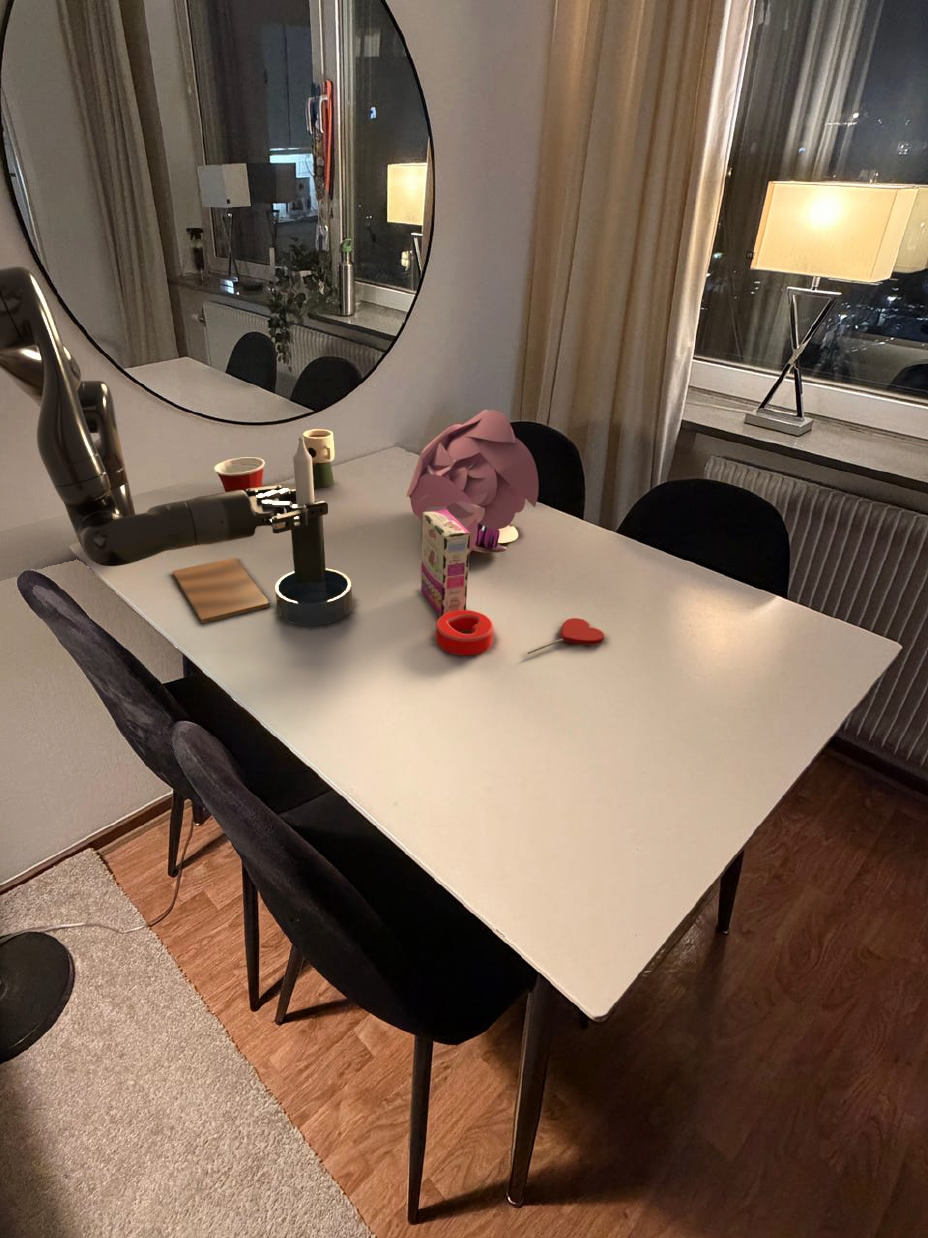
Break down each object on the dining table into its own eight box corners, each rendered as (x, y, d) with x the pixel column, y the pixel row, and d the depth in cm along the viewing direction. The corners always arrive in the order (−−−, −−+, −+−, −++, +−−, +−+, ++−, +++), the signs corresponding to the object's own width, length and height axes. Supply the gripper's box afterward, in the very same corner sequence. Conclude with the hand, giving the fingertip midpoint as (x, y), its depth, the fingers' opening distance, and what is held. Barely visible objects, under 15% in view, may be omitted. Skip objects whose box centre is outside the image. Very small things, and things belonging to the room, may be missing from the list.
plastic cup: (232, 503, 171) (225, 453, 164) (277, 507, 170) (272, 457, 163) (212, 522, 161) (204, 469, 155) (259, 526, 160) (253, 474, 154)
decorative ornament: (432, 626, 129) (432, 611, 127) (485, 622, 130) (486, 607, 129) (441, 657, 121) (441, 641, 119) (498, 652, 122) (499, 637, 121)
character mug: (298, 480, 184) (293, 429, 177) (323, 475, 188) (320, 425, 181) (319, 495, 177) (315, 442, 170) (345, 489, 181) (342, 437, 174)
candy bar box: (467, 616, 132) (471, 532, 123) (441, 621, 130) (444, 536, 122) (444, 587, 141) (446, 507, 132) (419, 591, 139) (420, 511, 130)
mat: (173, 574, 141) (172, 571, 140) (235, 561, 146) (234, 557, 146) (202, 623, 127) (201, 619, 126) (269, 606, 132) (269, 602, 132)
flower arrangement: (551, 568, 160) (594, 442, 147) (477, 582, 143) (518, 442, 130) (444, 503, 179) (474, 387, 166) (368, 509, 162) (395, 381, 150)
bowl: (267, 599, 134) (264, 577, 132) (334, 582, 140) (332, 561, 138) (293, 633, 125) (291, 611, 123) (364, 614, 131) (363, 592, 129)
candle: (297, 568, 131) (286, 431, 118) (326, 568, 132) (318, 431, 119) (294, 582, 127) (282, 441, 114) (324, 582, 128) (316, 442, 114)
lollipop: (543, 667, 119) (609, 640, 127) (544, 662, 119) (610, 635, 126) (512, 644, 125) (577, 619, 132) (512, 639, 124) (577, 614, 132)
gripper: (230, 512, 108) (335, 494, 116) (202, 479, 118) (301, 464, 126) (236, 558, 112) (337, 536, 120) (209, 522, 122) (304, 505, 130)
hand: (318, 499), depth 123 cm, fingers closed on candle, 6 cm apart
